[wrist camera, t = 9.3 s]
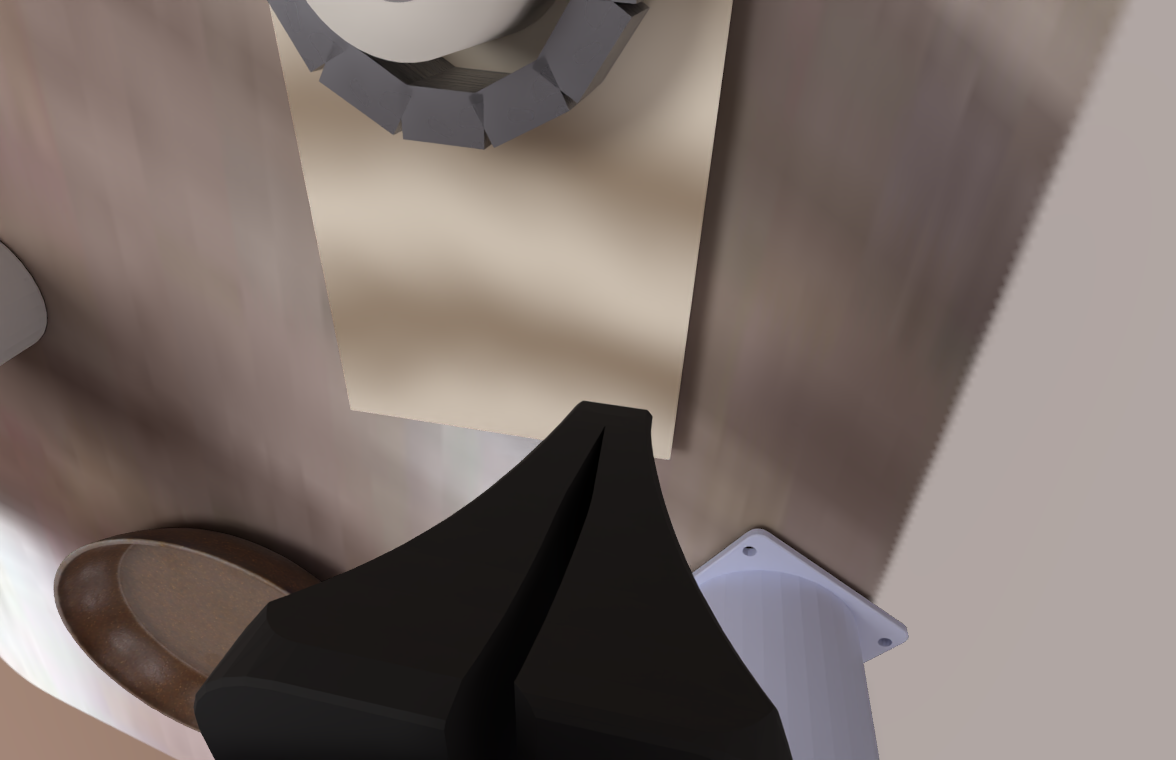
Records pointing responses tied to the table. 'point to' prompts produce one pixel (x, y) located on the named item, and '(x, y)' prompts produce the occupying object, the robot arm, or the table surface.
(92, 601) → the plant saucer
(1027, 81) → the table surface
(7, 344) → the coffee cup
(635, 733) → the robot arm
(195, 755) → the table surface
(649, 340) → the mount plate
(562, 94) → the dark grey segmented ring
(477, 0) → the white cylinder
